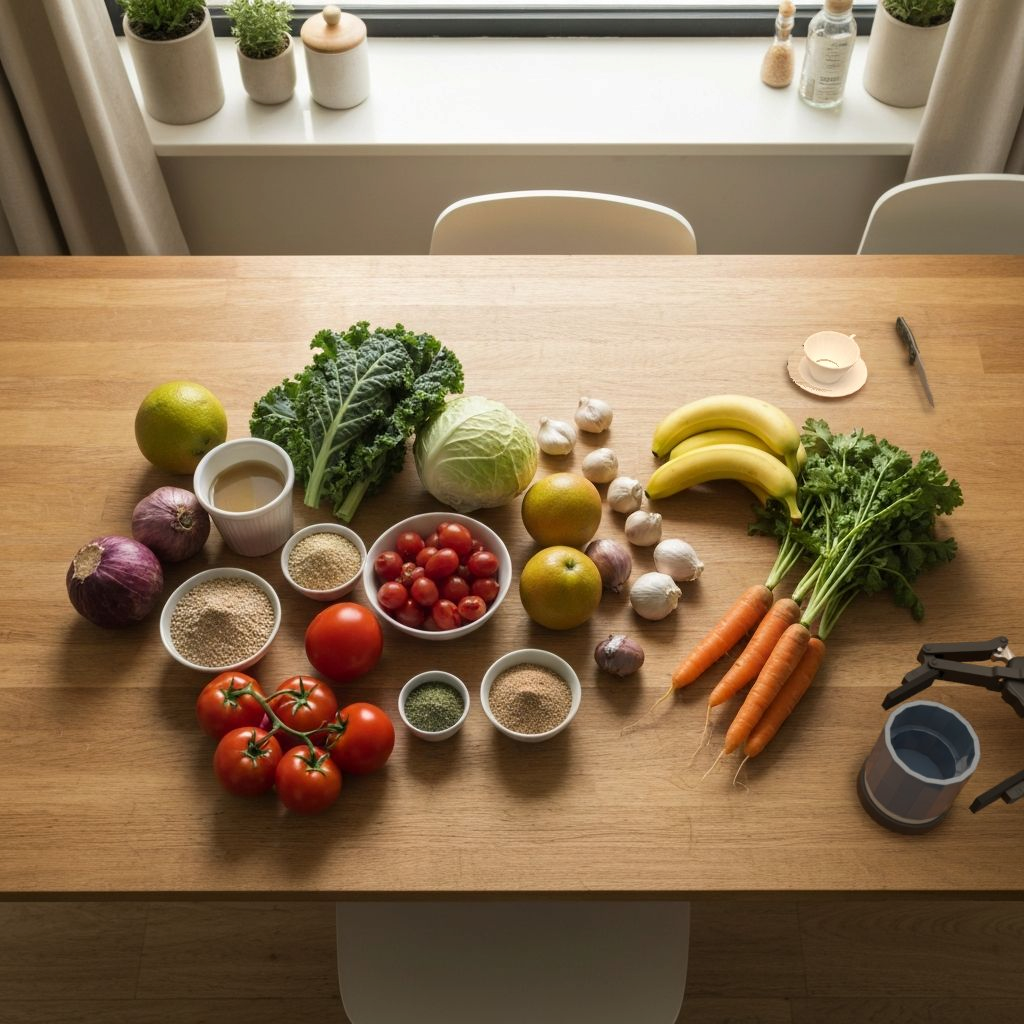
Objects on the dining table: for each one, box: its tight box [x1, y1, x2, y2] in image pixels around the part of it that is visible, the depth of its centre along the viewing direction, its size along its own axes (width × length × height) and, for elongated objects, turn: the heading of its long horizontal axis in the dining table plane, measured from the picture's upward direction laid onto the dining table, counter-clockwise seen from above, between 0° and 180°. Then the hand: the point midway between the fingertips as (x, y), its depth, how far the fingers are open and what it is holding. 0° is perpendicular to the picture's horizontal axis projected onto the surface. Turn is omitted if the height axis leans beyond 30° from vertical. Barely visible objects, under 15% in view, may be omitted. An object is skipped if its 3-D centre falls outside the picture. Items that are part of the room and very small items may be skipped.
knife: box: [895, 316, 936, 409], centre depth 163 cm, size 20×1×3 cm, turn 1°
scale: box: [856, 755, 952, 836], centre depth 121 cm, size 10×10×3 cm
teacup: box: [790, 330, 868, 398], centre depth 162 cm, size 12×12×5 cm
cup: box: [865, 699, 982, 820], centre depth 116 cm, size 10×10×10 cm
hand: (928, 752), depth 114 cm, fingers open, 13 cm apart
